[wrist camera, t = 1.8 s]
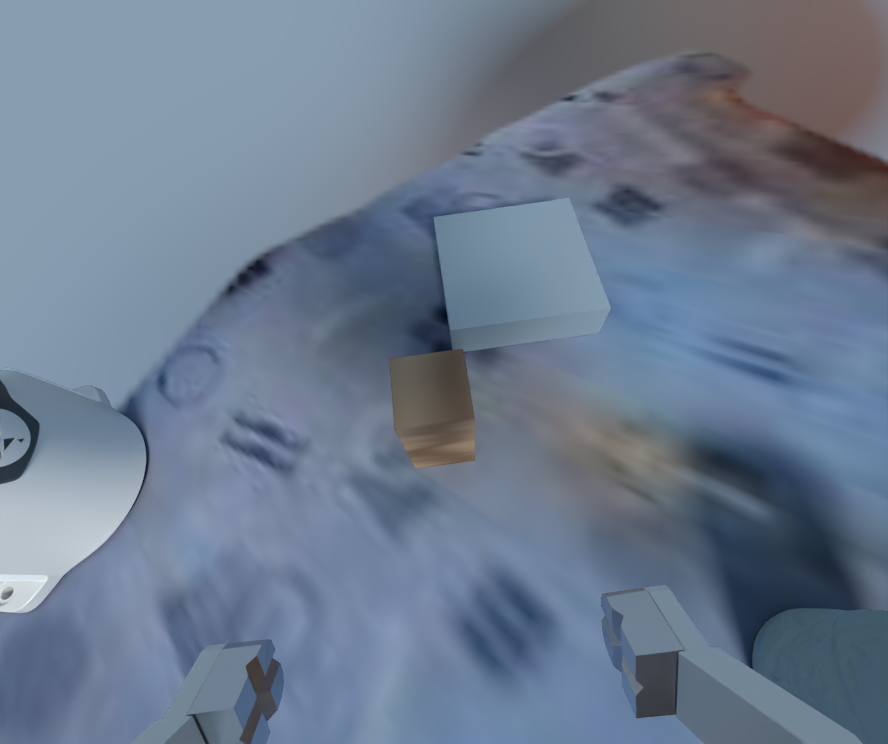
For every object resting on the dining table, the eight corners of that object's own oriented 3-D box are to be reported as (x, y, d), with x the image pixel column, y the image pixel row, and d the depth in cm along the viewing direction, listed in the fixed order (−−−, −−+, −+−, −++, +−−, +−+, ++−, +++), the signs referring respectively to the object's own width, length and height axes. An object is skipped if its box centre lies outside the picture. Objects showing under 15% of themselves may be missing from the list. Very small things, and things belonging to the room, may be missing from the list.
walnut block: (415, 468, 34) (394, 428, 25) (410, 413, 36) (389, 358, 27) (474, 460, 34) (474, 417, 25) (466, 405, 36) (463, 348, 27)
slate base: (452, 353, 39) (450, 330, 35) (436, 245, 45) (433, 217, 42) (598, 333, 39) (610, 308, 35) (561, 228, 45) (568, 197, 42)
